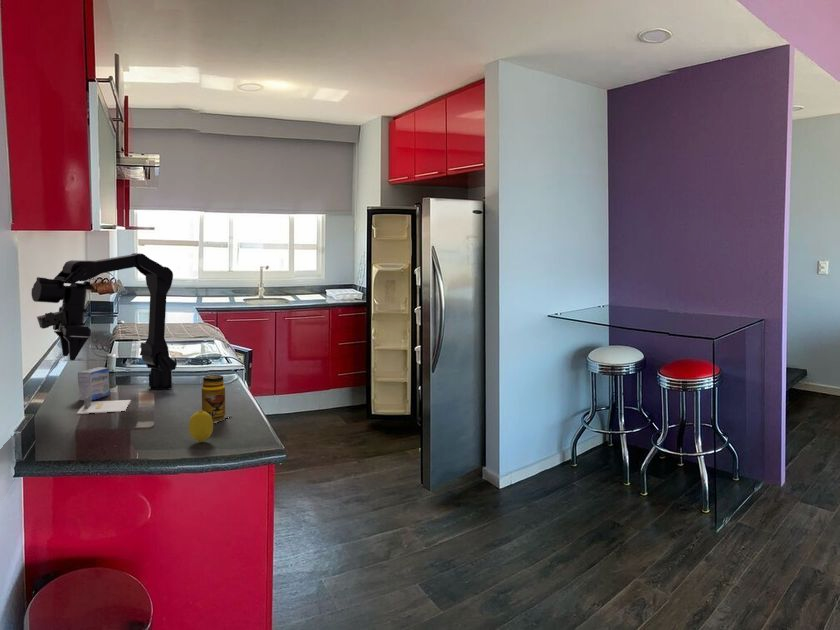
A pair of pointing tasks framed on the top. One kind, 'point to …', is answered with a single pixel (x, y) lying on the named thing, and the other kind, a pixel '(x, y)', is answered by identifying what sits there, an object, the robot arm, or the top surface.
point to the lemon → (201, 425)
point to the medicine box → (93, 383)
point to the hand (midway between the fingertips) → (68, 358)
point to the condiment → (213, 397)
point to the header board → (103, 406)
